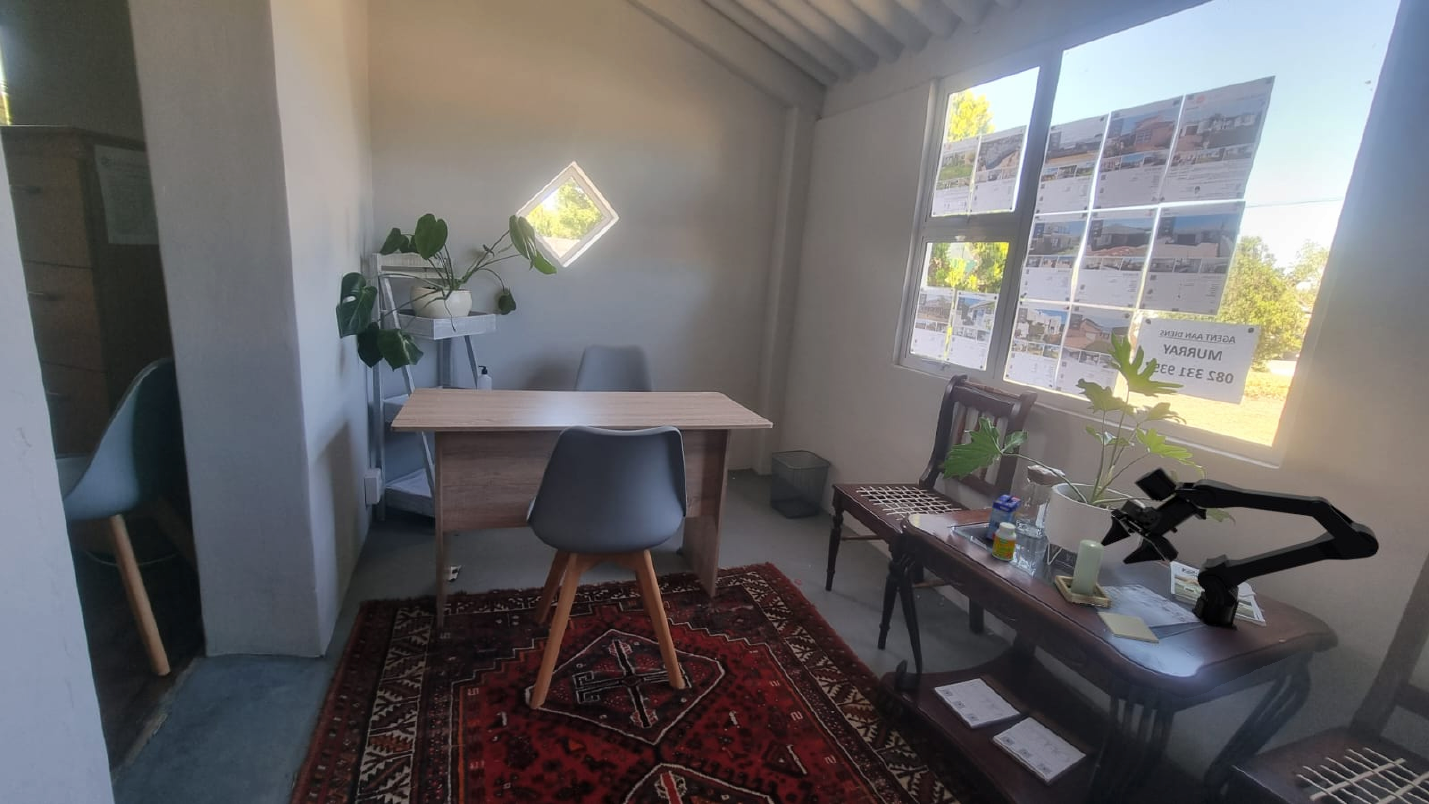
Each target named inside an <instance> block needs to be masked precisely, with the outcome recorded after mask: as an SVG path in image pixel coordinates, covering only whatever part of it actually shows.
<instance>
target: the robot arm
mask: <svg viewBox="0 0 1429 804" xmlns="http://www.w3.org/2000/svg"><path fill="white" fill-rule="evenodd" d="M1134 484H1135V485H1136V486H1137V487H1138V488H1139V489H1140V490H1141V491H1142V492H1143V493H1144V494H1145V495H1146V496H1147V497H1149V499H1150V500H1151V501H1156V502H1160V503H1161V502H1163V501H1165V500H1166V501H1165V502H1163V503H1162V504H1160V505H1159V506H1157V507H1153V506H1152V505H1151V506H1145V507H1143V506H1141V505H1139V504H1137V503H1135V502H1134V501H1131V500H1130V499H1127V500H1126V501H1125V503H1124V504H1123V505H1122V507H1121V508H1115V509H1114V510H1112V511H1110V512H1111V514H1112V515H1113V516H1115V517H1113V516H1112V515H1111V514H1110V515H1111V516H1110V519H1111V526H1110V529H1109V530H1108V531H1107V533H1106V535H1104V538H1103V539H1102V540H1101V541H1100V544H1102V545H1103V546H1104V547H1107V546H1109V545H1110V546H1111V545H1112V544H1115V543H1117V542H1120V541H1122V540H1125V539H1127V538H1130V537H1131V534H1135V533H1136V534H1137V535H1138V536H1140V537H1141V538H1143V539H1142V541H1141V544H1140V546H1138V548H1136V549H1135V550H1134V551H1132V552H1131V553H1129V554H1128V555H1127V556H1126V557H1125V558H1124V559H1122V562H1123V564H1125V565H1130V564H1137V563H1138V564H1139V563H1145V562H1155V561H1162V562H1166V561H1168V562H1169V563H1172V562H1173V561H1174V560H1176V559H1178V557H1179V551H1178V550H1177V549H1176V548H1175V546H1174V545H1173V544H1172V543H1171V541H1170V540H1169V539H1168V538H1166V536H1165V535H1167V534H1169V532H1172V533H1173V534H1176V533H1177V532H1179V530H1178V529H1177V527H1179V526H1180V525H1182V524H1184V523H1185V522H1186V521H1188V520H1189V519H1191V518H1193V517H1194V516H1195V518H1196V519H1197V520H1200V521H1201V520H1202V521H1206V520H1207V509H1231V508H1232V509H1233V508H1244V509H1245V508H1246V509H1251V510H1252V509H1254V510H1261V511H1267V512H1275V513H1281V514H1290V515H1298V516H1307V517H1312V518H1313V519H1314V520H1315V521H1317V523H1319V524H1320V525H1321V527H1322V528H1324V529H1325V530H1326V532H1324V533H1322V534H1320V535H1319V536H1318V537H1316V538H1314V539H1311V540H1308V541H1304V542H1300V543H1296V544H1293V545H1288V546H1286V547H1281V548H1278V549H1277V548H1276V549H1274V550H1270V551H1267V552H1263V553H1260V554H1255V555H1253V556H1252V555H1251V556H1248V557H1245V558H1241V559H1229V558H1228V556H1227V554H1226V553H1223V554H1221V555H1219V556H1217V557H1214V558H1213V557H1212V558H1209V557H1207V558H1206V561H1205V562H1203V563H1202V564H1201V565H1200V567H1199V570H1198V574H1197V583H1198V585H1199V587H1201V589H1203V590H1202V591H1201V592H1200V595H1199V596H1198V597H1197V600H1196V602H1195V607H1193V608H1191V611H1192V612H1193V613H1194V614H1195V615H1196V616H1197V617H1198V618H1199V620H1201V621H1202V623H1204V624H1205V625H1207V626H1215V627H1220V628H1227V629H1232V630H1233V629H1234V630H1238V626H1237V625H1236V624H1235V623H1234V622H1235V618H1236V614H1237V611H1238V607H1239V604H1240V601H1238V599H1239V590H1240V588H1239V586H1240V585H1241V584H1243V583H1244V582H1246V581H1248V580H1250V579H1253V578H1258V577H1261V576H1266V575H1270V574H1274V573H1278V572H1282V571H1286V570H1291V569H1295V568H1298V567H1302V566H1305V565H1310V564H1313V563H1314V564H1315V563H1318V562H1322V561H1329V560H1330V561H1350V560H1361V559H1368V558H1371V557H1373V556H1375V555H1376V554H1377V553H1378V551H1379V550H1380V544H1379V541H1378V539H1377V536H1376V534H1375V532H1374V530H1372V529H1371V527H1369V526H1366V525H1365V524H1363V523H1359V522H1356V521H1354V520H1353V519H1352V518H1351V517H1349V516H1348V515H1347V514H1346V513H1344V512H1342V511H1341V509H1338V508H1337V507H1335V505H1333V504H1332V503H1331V502H1330V501H1329V500H1328V499H1327V498H1325V497H1323V496H1320V495H1319V496H1317V495H1314V496H1308V495H1302V494H1301V495H1299V494H1292V493H1291V494H1290V493H1283V492H1282V493H1281V492H1276V491H1275V492H1274V491H1266V490H1256V489H1248V488H1241V487H1238V486H1234V485H1233V484H1229V483H1226V482H1222V481H1218V480H1214V479H1210V478H1202V479H1201V478H1200V479H1199V480H1197V481H1178V482H1176V481H1175V480H1174V479H1173V478H1172V477H1170V475H1169V474H1167V472H1166V471H1165V469H1163V468H1162V467H1160V466H1159V467H1157V468H1156V469H1153V470H1152V471H1150V472H1146V473H1145V474H1143V475H1142V476H1141V477H1139V478H1137V479H1136V480H1135V481H1134ZM1172 495H1173V496H1172ZM1171 496H1172V497H1171ZM1168 498H1169V499H1168ZM1167 499H1168V500H1167Z"/></svg>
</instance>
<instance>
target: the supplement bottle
mask: <svg viewBox="0 0 1429 804" xmlns="http://www.w3.org/2000/svg"><path fill="white" fill-rule="evenodd" d="M1015 531H1016V526H1014V525H1013V524H1010V523H1005V522H1002V523H1000V526H999V530H997V531H996V533H995V539H994V540H993V544H992V545H993V546H992V551H991V554H992V556H993V557H994V558H996V559H998V560H1000V561H1006V562H1007V561H1008V562H1009V561H1012V560H1013V558H1014V552H1015V547H1016V542H1017V534H1016V533H1015Z"/></svg>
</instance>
